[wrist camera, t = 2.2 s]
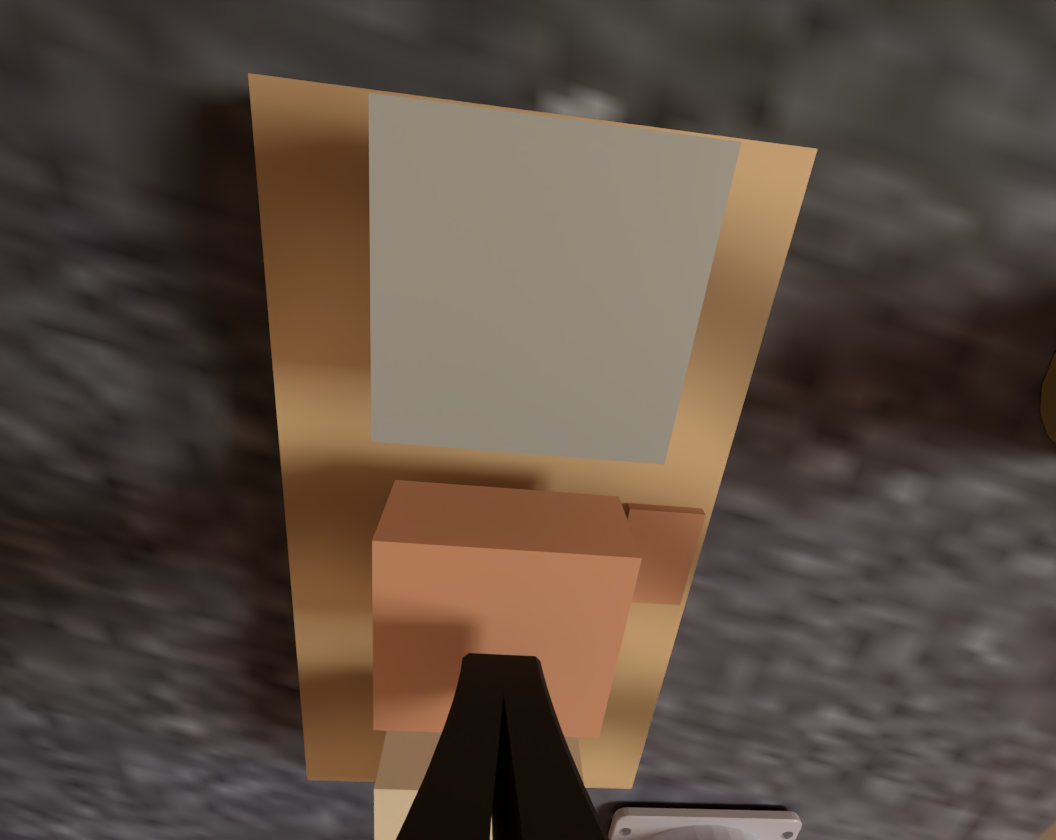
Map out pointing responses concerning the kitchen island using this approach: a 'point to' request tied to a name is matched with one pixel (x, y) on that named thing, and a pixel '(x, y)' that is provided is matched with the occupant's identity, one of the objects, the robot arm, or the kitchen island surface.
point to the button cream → (412, 777)
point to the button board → (372, 467)
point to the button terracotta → (498, 596)
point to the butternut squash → (1049, 400)
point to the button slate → (535, 278)
